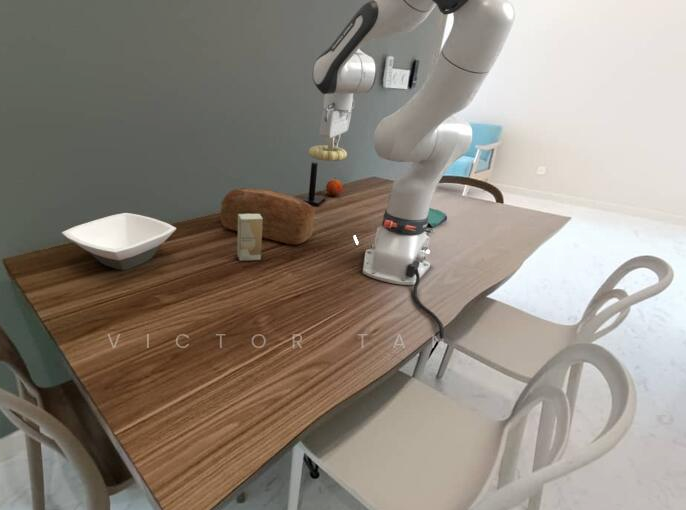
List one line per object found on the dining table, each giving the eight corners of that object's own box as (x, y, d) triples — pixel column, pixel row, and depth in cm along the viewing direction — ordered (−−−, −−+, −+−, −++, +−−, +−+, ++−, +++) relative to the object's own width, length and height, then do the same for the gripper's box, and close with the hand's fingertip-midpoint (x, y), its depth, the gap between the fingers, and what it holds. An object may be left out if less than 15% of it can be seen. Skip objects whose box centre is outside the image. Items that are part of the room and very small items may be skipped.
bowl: (186, 255, 110) (184, 227, 106) (118, 287, 93) (112, 255, 88) (131, 237, 119) (127, 210, 115) (60, 263, 102) (52, 232, 97)
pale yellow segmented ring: (339, 163, 120) (340, 154, 118) (303, 157, 123) (303, 148, 122) (350, 157, 129) (351, 148, 128) (315, 152, 133) (316, 143, 131)
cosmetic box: (239, 261, 109) (239, 219, 102) (236, 255, 112) (236, 213, 106) (262, 260, 110) (263, 218, 104) (259, 253, 114) (259, 212, 108)
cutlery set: (451, 217, 153) (452, 211, 152) (432, 240, 131) (434, 233, 130) (401, 206, 162) (402, 201, 160) (375, 226, 139) (377, 220, 138)
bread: (302, 250, 118) (306, 206, 111) (216, 229, 128) (214, 188, 121) (317, 237, 127) (321, 196, 120) (236, 219, 138) (235, 180, 131)
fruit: (333, 192, 174) (335, 174, 170) (344, 196, 170) (347, 177, 166) (322, 194, 170) (323, 176, 166) (333, 199, 166) (335, 179, 162)
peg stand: (317, 206, 155) (321, 166, 147) (296, 202, 158) (299, 163, 150) (325, 201, 163) (329, 162, 155) (304, 197, 165) (308, 159, 158)
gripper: (337, 105, 113) (331, 156, 120) (355, 101, 129) (349, 146, 136) (316, 103, 114) (312, 153, 122) (337, 100, 131) (332, 143, 138)
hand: (332, 149), depth 129 cm, fingers closed on pale yellow segmented ring, 3 cm apart
